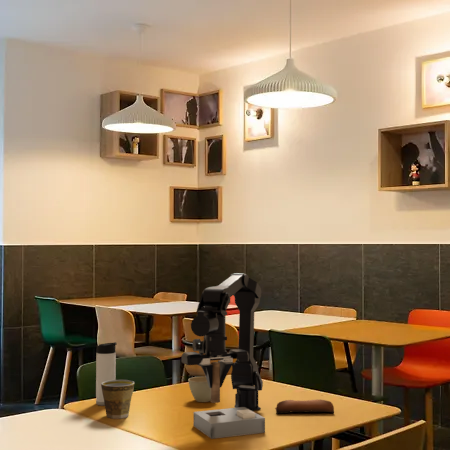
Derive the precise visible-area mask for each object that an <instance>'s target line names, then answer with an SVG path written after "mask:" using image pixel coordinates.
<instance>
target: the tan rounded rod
mask: <svg viewBox="0 0 450 450" xmlns="http://www.w3.org/2000/svg"><path fill="white" fill-rule="evenodd" d="M210 364H211V365H213V383H212V388H211V401H210V403H212V404H216V403H217V404H218V403H221V387H220V363H219V362H218V361H217V362H216V361H212V362H210Z"/></svg>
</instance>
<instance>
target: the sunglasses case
mask: <svg viewBox="0 0 450 450" xmlns="http://www.w3.org/2000/svg"><path fill="white" fill-rule="evenodd" d="M274 409H275V413H276V415H277V414H285V413H286V414H287V413H296V412H300V413H303V412H304V413H310V412H311V413H312V412H313V413H332V414H335V407H334V404H333V403H332V401H329V400H326V399H311V400H310V399H309V400H294V399H285V400H282V401H279V402H277V404H276V407H275V408H274Z"/></svg>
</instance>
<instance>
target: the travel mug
mask: <svg viewBox="0 0 450 450" xmlns="http://www.w3.org/2000/svg"><path fill="white" fill-rule="evenodd" d="M116 346H117V342H116V341H115V342H107V343H101V344H99V345H96V352H95V353H96V356H95V357H96V359H95V361H96V362H95V363H96V365H95V366H96V367H95V368H96V370H95V373H96V374H95V376H96V377H95V380H96V381H95V397H96V399H95V404H96V405H97V406H104V407H105V404H104V398H103V394H102V388H101V383H103V382H105V381H110V380H117V378H116V375H117V374H116V365H117V363H116V361H117V359H116V358H117V356H116V352H117V351H116Z"/></svg>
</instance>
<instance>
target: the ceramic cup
mask: <svg viewBox="0 0 450 450" xmlns="http://www.w3.org/2000/svg"><path fill="white" fill-rule="evenodd" d="M134 387H135V381H133V380H128V379H116V380H110V381H105V382H103V383H101V388H102V394H103V398H104V404H105V406H104V409H105V410H104V411H105V415H106V418H109V419H113V420H115V419H119V420H120V419H126V418H128V417H129V414H130V410H131V409H130V408H131V403H132V402H131V401H132V398H133V393H134Z"/></svg>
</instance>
